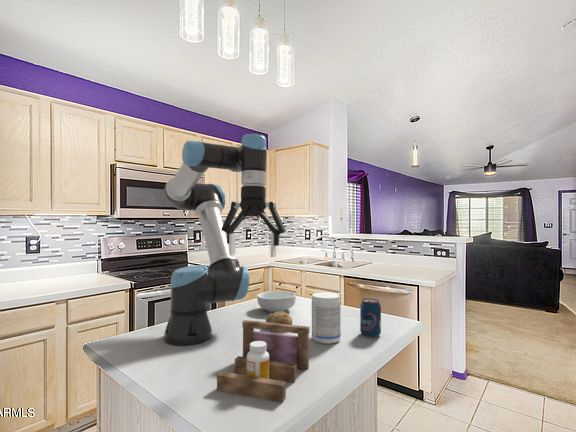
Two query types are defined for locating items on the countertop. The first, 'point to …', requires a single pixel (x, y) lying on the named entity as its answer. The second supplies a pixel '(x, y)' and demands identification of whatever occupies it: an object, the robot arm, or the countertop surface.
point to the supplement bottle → (258, 360)
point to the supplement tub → (326, 317)
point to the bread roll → (279, 318)
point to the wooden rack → (282, 361)
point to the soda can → (370, 318)
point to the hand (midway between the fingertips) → (252, 255)
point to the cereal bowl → (276, 300)
